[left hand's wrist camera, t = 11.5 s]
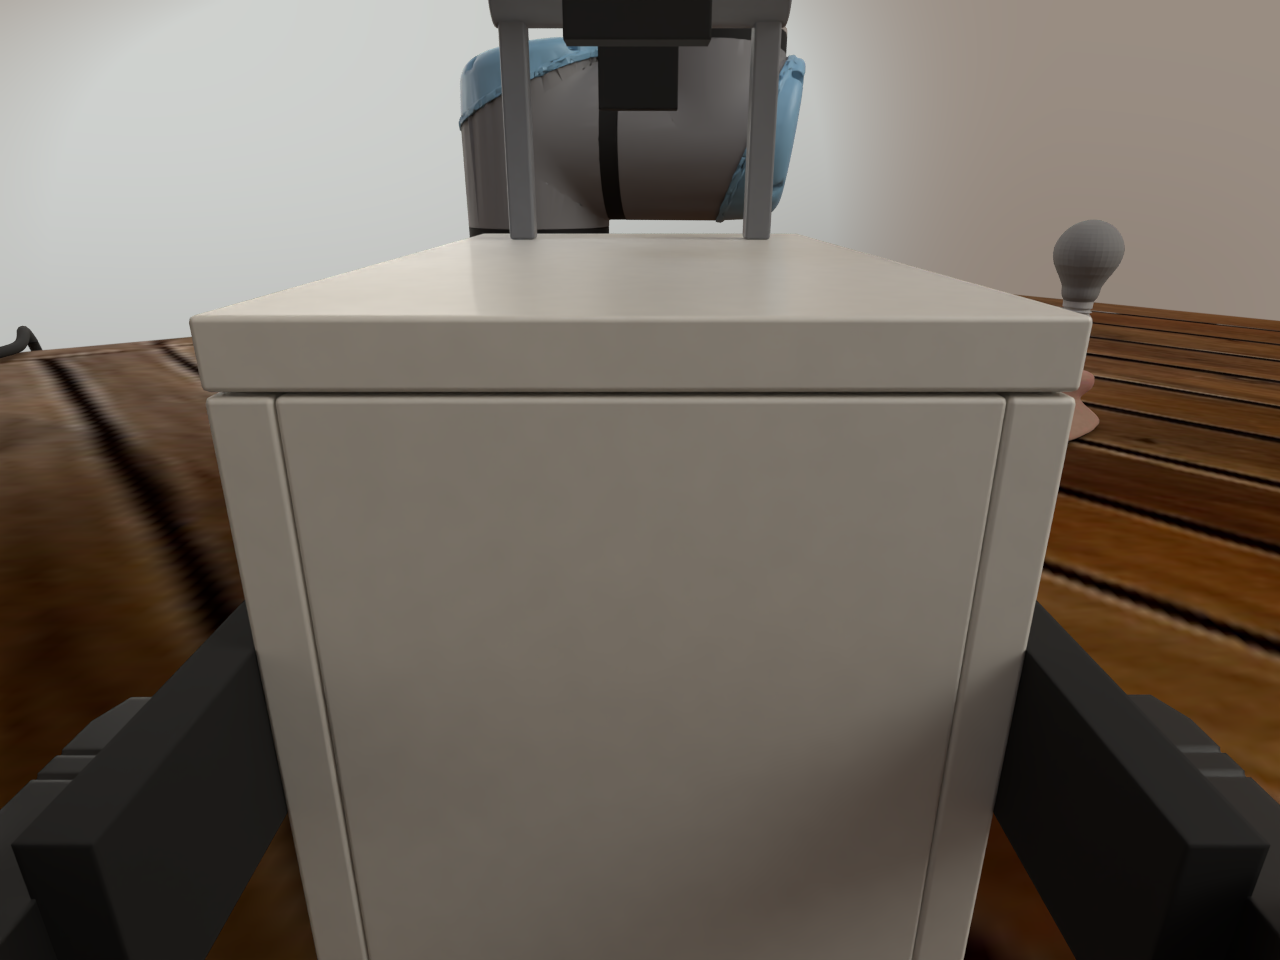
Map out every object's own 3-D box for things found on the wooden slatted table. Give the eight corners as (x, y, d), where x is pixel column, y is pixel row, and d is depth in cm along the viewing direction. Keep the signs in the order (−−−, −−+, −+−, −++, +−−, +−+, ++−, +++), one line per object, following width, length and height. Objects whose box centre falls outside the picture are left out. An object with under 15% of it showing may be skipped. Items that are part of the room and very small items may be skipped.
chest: (501, 570, 28) (480, 265, 25) (778, 570, 28) (799, 265, 25) (331, 1040, 13) (201, 397, 9) (949, 1040, 13) (1080, 397, 9)
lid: (483, 262, 25) (464, -18, 22) (796, 261, 25) (815, -18, 22) (200, 393, 9) (5, -565, 6) (1081, 393, 9) (1274, -561, 6)
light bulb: (1054, 329, 75) (1074, 220, 72) (1031, 319, 81) (1049, 218, 77) (1119, 330, 75) (1143, 221, 71) (1092, 320, 80) (1112, 218, 77)
